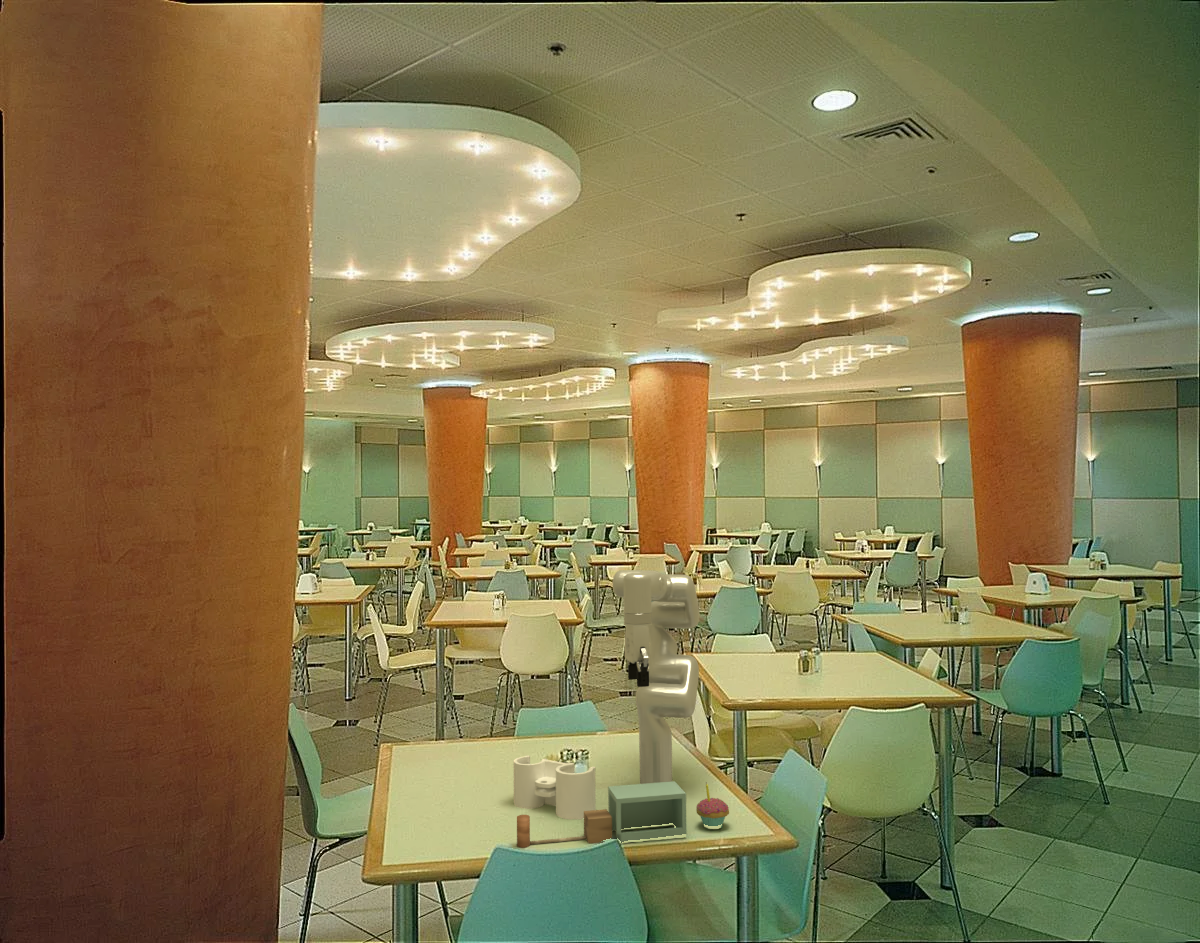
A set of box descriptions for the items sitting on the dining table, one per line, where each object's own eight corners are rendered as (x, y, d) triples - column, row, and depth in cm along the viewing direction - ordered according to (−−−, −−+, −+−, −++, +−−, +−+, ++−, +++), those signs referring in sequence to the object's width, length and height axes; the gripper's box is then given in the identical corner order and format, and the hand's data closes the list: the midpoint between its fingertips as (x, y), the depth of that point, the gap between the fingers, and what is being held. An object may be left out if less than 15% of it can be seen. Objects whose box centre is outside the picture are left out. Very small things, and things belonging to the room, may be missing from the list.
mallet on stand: (515, 841, 227) (515, 813, 227) (606, 832, 232) (606, 805, 232) (518, 850, 221) (518, 821, 221) (612, 841, 226) (611, 813, 226)
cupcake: (711, 835, 230) (711, 787, 230) (689, 825, 236) (688, 779, 237) (736, 827, 235) (735, 781, 235) (713, 818, 241) (712, 773, 242)
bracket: (505, 806, 253) (505, 762, 254) (526, 796, 262) (526, 754, 262) (579, 822, 240) (579, 776, 240) (599, 811, 248) (598, 767, 249)
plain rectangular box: (608, 830, 234) (608, 786, 234) (675, 824, 238) (674, 781, 238) (617, 844, 224) (616, 799, 224) (686, 838, 228) (685, 793, 228)
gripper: (617, 615, 251) (617, 677, 251) (631, 624, 234) (632, 690, 234) (643, 614, 253) (643, 676, 252) (659, 622, 236) (660, 688, 235)
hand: (638, 682), depth 243 cm, fingers open, 9 cm apart
